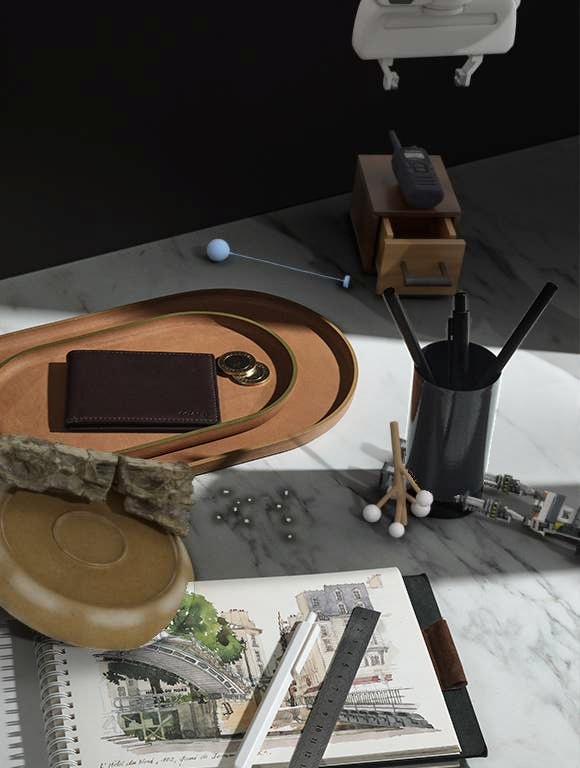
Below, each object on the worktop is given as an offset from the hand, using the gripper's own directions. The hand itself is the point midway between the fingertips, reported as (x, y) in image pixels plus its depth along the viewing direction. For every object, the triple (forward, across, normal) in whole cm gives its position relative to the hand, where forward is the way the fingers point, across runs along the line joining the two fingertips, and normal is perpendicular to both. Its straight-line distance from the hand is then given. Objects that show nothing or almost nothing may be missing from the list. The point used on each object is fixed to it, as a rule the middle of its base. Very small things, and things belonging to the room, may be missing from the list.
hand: (425, 86), depth 165 cm
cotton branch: (+14, +16, +50) cm, 54 cm away
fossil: (+16, +50, +51) cm, 73 cm away
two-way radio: (+13, 0, +8) cm, 15 cm away
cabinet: (+24, 0, 0) cm, 24 cm away
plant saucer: (+16, +49, +61) cm, 80 cm away
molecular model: (+24, +19, +6) cm, 31 cm away
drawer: (+23, +1, +9) cm, 25 cm away
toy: (+22, +15, +48) cm, 55 cm away
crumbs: (+24, +30, +52) cm, 65 cm away
